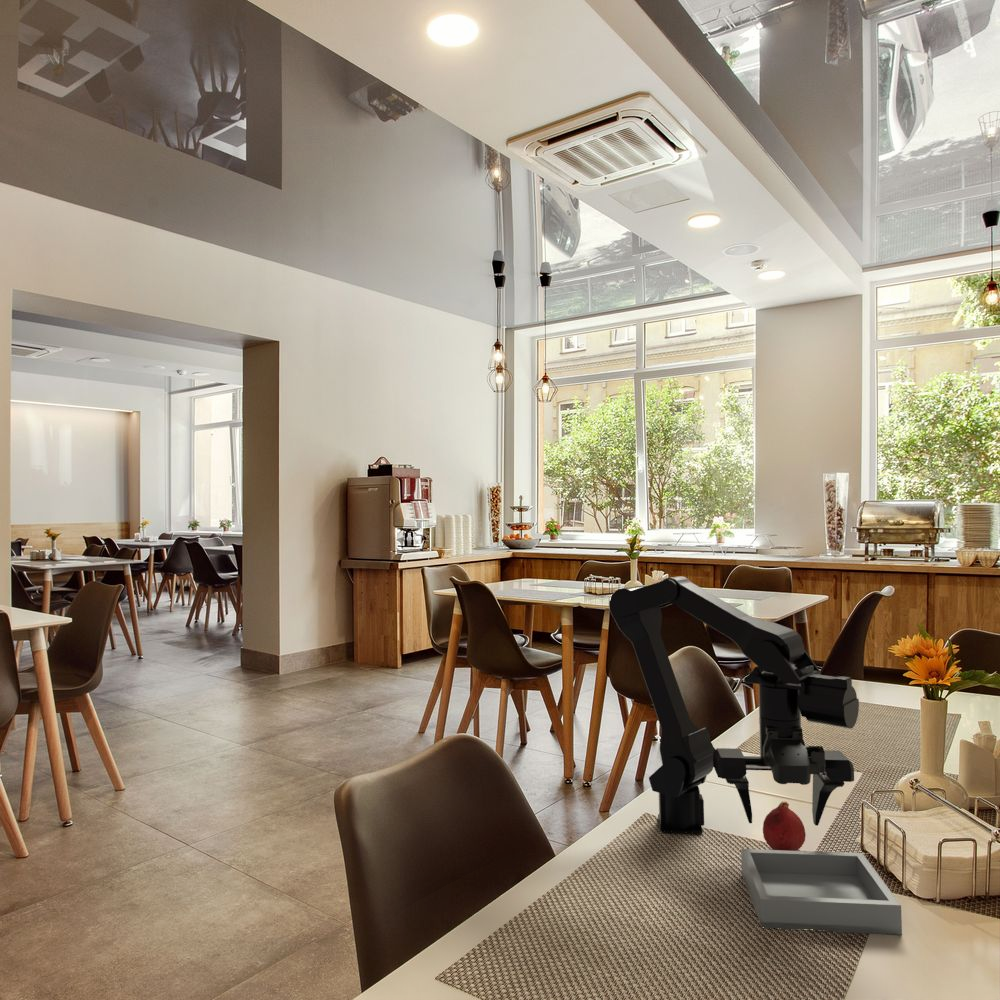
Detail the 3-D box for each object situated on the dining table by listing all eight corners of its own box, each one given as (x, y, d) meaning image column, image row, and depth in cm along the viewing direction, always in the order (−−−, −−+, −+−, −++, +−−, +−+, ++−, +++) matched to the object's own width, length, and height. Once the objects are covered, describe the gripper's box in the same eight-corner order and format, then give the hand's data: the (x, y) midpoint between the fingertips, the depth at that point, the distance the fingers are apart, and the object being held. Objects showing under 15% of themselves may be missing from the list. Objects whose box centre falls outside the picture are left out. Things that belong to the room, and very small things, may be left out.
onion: (785, 869, 109) (784, 812, 109) (754, 853, 114) (753, 799, 114) (814, 860, 111) (813, 804, 112) (783, 845, 116) (781, 791, 117)
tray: (761, 928, 94) (760, 899, 94) (741, 874, 108) (741, 848, 108) (902, 935, 92) (901, 905, 92) (863, 879, 105) (862, 853, 105)
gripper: (722, 730, 106) (725, 845, 106) (865, 733, 104) (868, 850, 104) (711, 709, 117) (713, 813, 117) (840, 711, 115) (843, 817, 115)
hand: (782, 823), depth 113 cm, fingers open, 9 cm apart
